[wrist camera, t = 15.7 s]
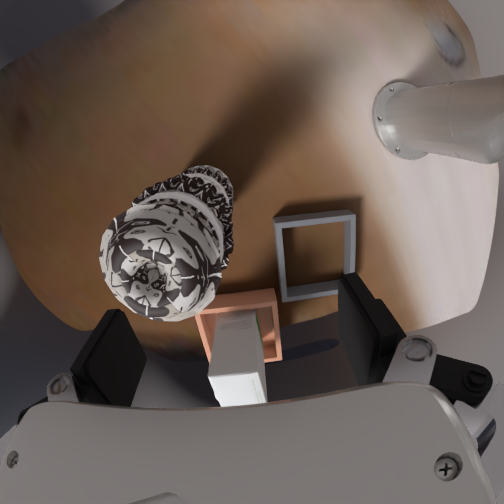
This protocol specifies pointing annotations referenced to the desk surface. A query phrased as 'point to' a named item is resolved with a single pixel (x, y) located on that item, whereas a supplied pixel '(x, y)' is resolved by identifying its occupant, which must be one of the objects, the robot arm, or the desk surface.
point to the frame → (311, 219)
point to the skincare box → (238, 359)
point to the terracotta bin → (244, 300)
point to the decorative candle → (171, 245)
